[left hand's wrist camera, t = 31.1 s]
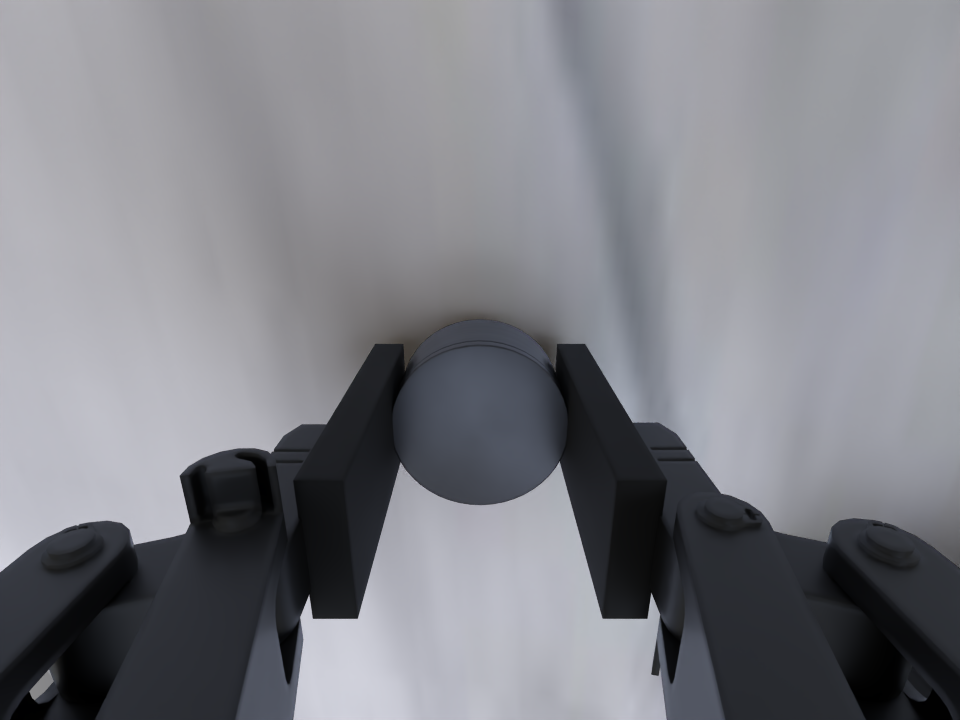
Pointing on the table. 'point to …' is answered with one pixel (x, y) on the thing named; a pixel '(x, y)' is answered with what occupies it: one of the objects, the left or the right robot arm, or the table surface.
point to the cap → (480, 414)
